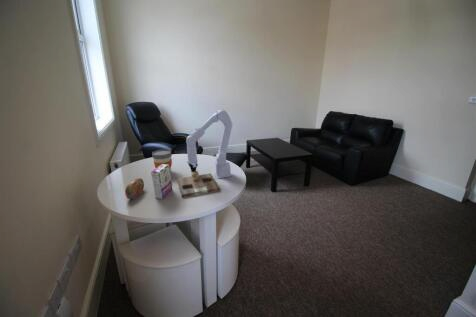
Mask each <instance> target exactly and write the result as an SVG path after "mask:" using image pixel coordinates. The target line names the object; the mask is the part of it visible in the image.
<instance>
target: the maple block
mask: <svg viewBox="0 0 476 317" xmlns="http://www.w3.org/2000/svg"><path fill="white" fill-rule="evenodd" d="M199 173H200V172H199V171H198V170H196V171H194V172H191V174H190V175H191V176H192V179H193V180H197V179H199V175H200V174H199Z"/></svg>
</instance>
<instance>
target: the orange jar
mask: <svg viewBox="0 0 476 317" xmlns="http://www.w3.org/2000/svg"><path fill="white" fill-rule="evenodd" d="M152 159H153V164H154V167H155V169H156V168H157V167H159V166H160V165H161V164H167V165H169V168H170V174H171V172H172V166H173V162H172V161H173V159H172V151H171V150H170V149H158V150H155V151H152Z"/></svg>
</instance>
